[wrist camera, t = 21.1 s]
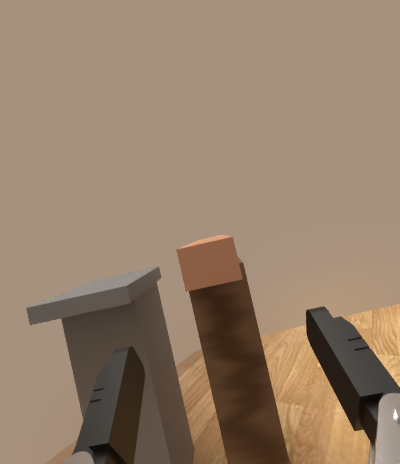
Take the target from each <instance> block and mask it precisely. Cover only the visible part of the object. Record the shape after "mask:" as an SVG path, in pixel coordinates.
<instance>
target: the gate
mask: <svg viewBox="0 0 400 464" xmlns="http://www.w3.org/2000/svg"><path fill="white" fill-rule="evenodd" d="M238 262H239V266H240V270H241V275H242V280H237V281H233V282H228V283H223V284H219V285H214V286H210V287H205V288H200V289H196V290H191V291H189V294H190V298H191V302H192V307H193V311H194V315H195V320H196V324H197V329H198V333H199V338H200V342H201V346H202V351H203V355H204V360H205V364H206V369H207V373H208V377H209V382H210V386H211V391H212V395H213V399H214V404H215V408H216V413H217V417H218V421H219V426H220V430H221V435H222V439H223V444H224V448H225V452H226V457H227V461H228V464H290V461H289V458H288V454H287V450H286V446H285V441H284V437H283V433H282V428H281V424H280V420H279V415H278V411H277V407H276V402H275V398H274V394H273V390H272V385H271V381H270V377H269V372H268V368H267V364H266V359H265V355H264V351H263V346H262V342H261V338H260V333H259V329H258V325H257V321H256V316H255V312H254V308H253V303H252V299H251V295H250V290H249V286H248V282H247V277H246V273H245V269H244V265H243V262H242V261H241V260H240V259H239V258H238Z"/></svg>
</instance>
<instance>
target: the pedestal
mask: <svg viewBox="0 0 400 464" xmlns="http://www.w3.org/2000/svg"><path fill="white" fill-rule="evenodd" d="M160 278H161V274H160V270H159V267H155V268H150V269H146V270H141V271H137V272H133V273H128V274H124V275H119V276H115V277H110V278H106V279H101V280H97V281H93V282H91V283H88V284H86V285H83V286H81V287H78V288H75V289H73V290H71V291H68V292H66V293H63V294H60V295H58V296H55V297H53V298H50V299H48V300H45V301H43V302H40V303H37V304H35V305H33V306H30V307H28V308H26V309H27V313H28V318H29V322H30V325H32V324H37V323H41V322H47V321H51V320H56V319H60V318H61V319H62V324H63V328H64V333H65V338H66V342H67V347H68V351H69V356H70V361H71V365H72V370H73V375H74V379H75V384H76V388H77V393H78V398H79V402H80V407H81V411H82V416H83V421H84V417H85V414H86V411H87V408H88V404H89V403H90V398H91V394H92V393H93V388H94V385H95V381H96V378H97V376H98V374H99V373H100V371H101V370H102V368H103V366H104V365H105V364H110V363H111V359H112V355H113V352H114V351H115V350H116V349H120V348H124V347H129V346H132V347H133V348H134V349H135V351H136V353H137V355H138V356H139V358H140V360H141V362H142V364H143V366H144V370H145V383H144V390H143V398H142V405H141V413H140V420H139V428H138V436H137V443H136V451H135V458H134V464H192V461H193V450H194V447H193V442H192V438H191V433H190V429H189V424H188V420H187V416H186V411H185V407H184V402H183V398H182V393H181V389H180V384H179V380H178V375H177V371H176V367H175V362H174V358H173V353H172V349H171V344H170V340H169V336H168V331H167V327H166V322H165V318H164V314H163V309H162V304H161V300H160V295H159V291H158V287H157V281H158V280H159V279H160Z"/></svg>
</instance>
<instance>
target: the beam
mask: <svg viewBox="0 0 400 464" xmlns="http://www.w3.org/2000/svg"><path fill="white" fill-rule="evenodd" d="M177 254H178V258H179V263H180V267H181V271H182V276H183V281H184V285H185V289H186V291H191V290H196V289H200V288H205V287H210V286H214V285H219V284H223V283H228V282H233V281H237V280H242V275H241V270H240V266H239V262H238V257H237V253H236V249H235V245H234V240H233V237H231V236H226V235H219V236H214V237H210V238H205V239H201V240H198V241H196V242H193V243H191V244H188V245H186V246H184V247H181V248H179V249H177Z"/></svg>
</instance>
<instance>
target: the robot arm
mask: <svg viewBox="0 0 400 464" xmlns="http://www.w3.org/2000/svg"><path fill="white" fill-rule="evenodd" d="M306 329H307V337H308V340H309V343H310V345H311V347H312V349H313V351H314V353H315V355H316V357H317V359H318V361H319V363H320V365H321V367H322V369H323V371H324V373H325V374H326V376H327V378H328V380H329V382H330V384H331V386H332V388H333V390H334V392H335V394H336V396H337V398H338V400H339V402H340V404H341V406H342V407H343V409H344V411H345V413H346V415H347V417H348V419H349V421H350V423H351V425H352V427H353V429H354V431H358V430H364V431H365V433H366V434H367V436H368V438H369V440H370V449H369V462H368V464H400V387H399V386H398V385H397V383H396V382H395V381H394V379H393V378H392V377H391V375H390V374H389V373H388V371H387V370H386V369H385V367H384V366H383V364H382V363H381V362H380V360H379V359H378V358H377V356H376V355H375V354H374V352H373V351H372V350H371V349H370V348H369V346H368V344H367V343H366V342H365V340H364V339H362V336H361V335H360V334H359V332H358V331H357V330H356V328H355V327H354V326H353V325H352V324H351V323H349V322H348V321H347V320H345V319H344V318H342V317H336V318H333V317H332V316H331V314H330V313H329V311H328V310H327V309H326V308H325V307H318V308H314V309H309V310H307V311H306ZM144 383H145V370H144V366H143V364H142V362H141V360H140V358H139V356H138V355H137V353H136V351H135V349H134V348H133V347H132V346H129V347H124V348H120V349H116V350H115V351H114V352H113V355H112V359H111V363H110V364H105V365H104V366H103V368H102V370H101V371H100V373H99V374H98V376H97V378H96V381H95V385H94V388H93V393H92V394H91V398H90V403H89V404H88V408H87V411H86V414H85V417H84V421H83V424H82V427H81V431H80V434H79V437H78V440H77V444H76V447H75V449H74V452H73V454H72V456H70V457H69V458H68V459H67V460H66V461H65V462H64V463H63V464H134V458H135V451H136V443H137V436H138V428H139V420H140V413H141V405H142V398H143V390H144Z"/></svg>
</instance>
